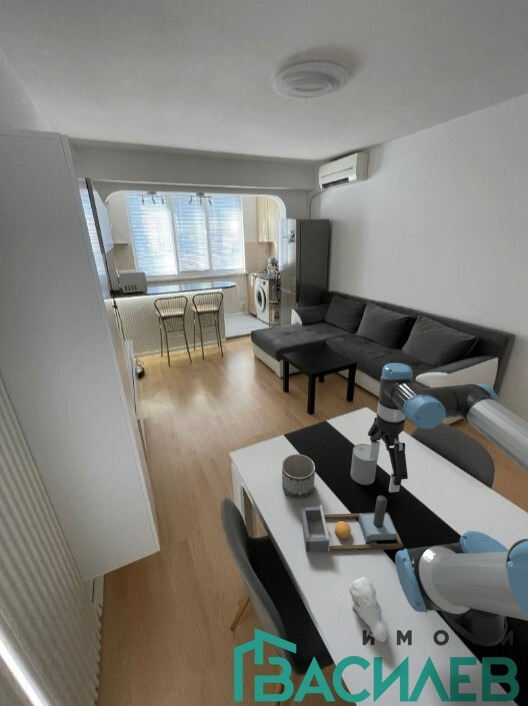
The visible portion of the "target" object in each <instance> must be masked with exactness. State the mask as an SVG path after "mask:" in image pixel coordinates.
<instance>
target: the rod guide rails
mask: <svg viewBox="0 0 528 706" xmlns="http://www.w3.org/2000/svg"><path fill="white" fill-rule="evenodd" d="M366 514H375V512H362V515H366ZM385 514H388V516H389V518H390V520H391V523H392V525H393V527H394V529H395V532H396V538H395V541H396V543H374V544H373V543H371V544H369V543H365V544H343V545H342V544H341V545H329V552H344V551H345V552H350V551H353V552H354V551H355V552H356V551H357V552H358V551H379V550H380V551H382V550H385V551H386V550H404V544H403V542H402V540H401V538H400V536H399V533H398V532H397V529H396V527H395V524H394V522H393V520H392V518H391V515H390V512H387V511H385ZM324 517H325V520H347V519H350V520H351V519H359V512H358V513H354V512H353V513H332V514H331V513H329V514H326V513H324Z"/></svg>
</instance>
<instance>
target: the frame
mask: <svg viewBox="0 0 528 706" xmlns="http://www.w3.org/2000/svg"><path fill="white" fill-rule="evenodd" d="M300 509H301V510H300V512H301V513H300V518H301V527H302V532H303V541H304V548H305V553H320V552H321V553H322V552H323V553H324V552H327V553H328V552H329V551H330V549H329V546H330V535H329V531H328V528H327V521H326V519H325V517H324V514H325V513H324V509H323V505H321V504H320V505H319V506H312V507H311V506H310V507H309V506H306V507H305V506H304V507H300ZM308 521H322V525H323V531H324V535H325V536H323V537H322V536H320V537H318V536H317V537H310V532H309V528H308Z"/></svg>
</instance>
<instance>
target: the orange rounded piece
mask: <svg viewBox="0 0 528 706" xmlns="http://www.w3.org/2000/svg"><path fill="white" fill-rule="evenodd" d="M351 532H352V528H351V526H350V524H349V523H348V522H346V521H340V520H339V521H337V522H336V523H335V527H334V534H335V537H337V538H338V539H340V540H342V541H347V540H348V539H350V537H351Z"/></svg>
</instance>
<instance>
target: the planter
mask: <svg viewBox="0 0 528 706" xmlns="http://www.w3.org/2000/svg"><path fill="white" fill-rule="evenodd" d="M315 464H316V463H315V462H314V461H313V460H312V459H311V458H310V457H309V456H307V455H305V454H301V453H300V454H297V453H294V454H291V455H289V456H286V457H285V458H284V459H283V461H282V464H281V479H282V481H281V484H282V487H283V489H284V492H285V493H287V494H289V496H291V497H296V498H304V497H307V496H309V495H311V493H312V492H313V491H314V488H315V479H316V477H315V476H316V465H315Z"/></svg>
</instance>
